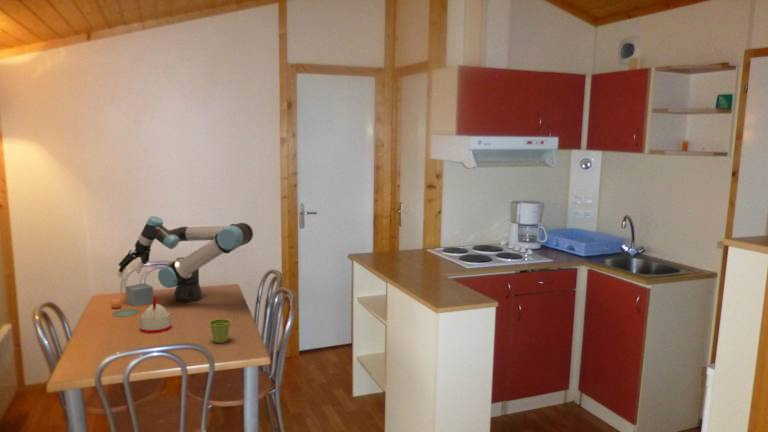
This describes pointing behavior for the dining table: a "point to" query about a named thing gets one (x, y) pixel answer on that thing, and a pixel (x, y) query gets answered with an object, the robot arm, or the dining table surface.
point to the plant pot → (220, 329)
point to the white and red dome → (155, 319)
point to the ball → (116, 303)
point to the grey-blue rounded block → (139, 294)
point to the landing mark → (125, 312)
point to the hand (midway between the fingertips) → (128, 274)
